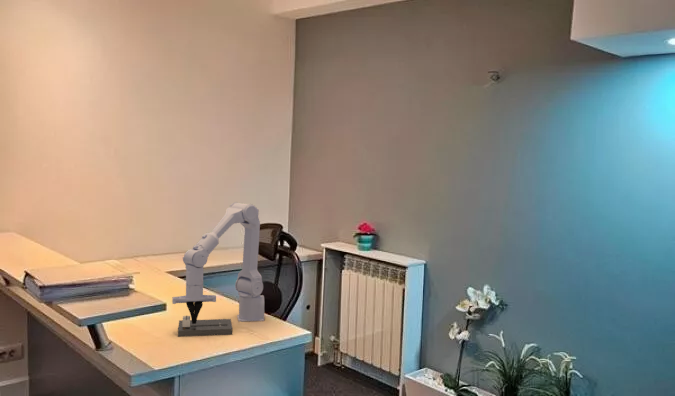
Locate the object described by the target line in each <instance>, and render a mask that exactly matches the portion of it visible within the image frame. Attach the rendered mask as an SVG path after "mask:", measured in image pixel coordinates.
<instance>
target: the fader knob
mask: <svg viewBox="0 0 675 396" xmlns="http://www.w3.org/2000/svg"><path fill="white" fill-rule="evenodd" d="M182 320H183V322H182V327H190V320H191V315H182Z"/></svg>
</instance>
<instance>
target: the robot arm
mask: <svg viewBox="0 0 675 396" xmlns="http://www.w3.org/2000/svg"><path fill="white" fill-rule="evenodd" d="M259 212H260V211H259V209H258V208H257V207H256V205H254V204H253V203H243V202H241V203H240V202H238V201H234V202H232V203H230V205H229V207H227V208H226V209H225V214H224V215H223V216H222V218H221V219H220V220H219V221H218V222H217V224H216V225H215V226H214V228H213V229H212V230H211V232H206V233H203V234H202V235H201V238H200V239H199V240H198V242H196V244H194V245H193V246H192V248H189V249H188V250H187V251H186V252H185V253H184V255H183V256H182V261H183V264H184V266H185V271H186V272H185V295H181V296H180V295H179V296H173V297H172V298H171V299H172V300H171V302H172V305H175V304H186V307H187V309H188V311H189V314H190V320H192V324H196V321H197V320H198V317H199V314H200V311H201V309H202V308H203V303H206V302H207V303H209V302H212V303H216V302H217V295H215V294H204V266H205V265H206V264H207V262H208V258H209V256H210V254H211V253H212V251H213V250H214V249H216V247H217V246H218V245H219V243H220V241H219V239H220V238H221V237H222V236H223V235H224V234H225V233H226V232H227V231H228V230H229V229H230V228H231V227H232V226H233V225H234V224H240V225H242V227H243V228H244V235H243V236H244V238H243V252H242V253H243V254H242V256H243V257H242V267H241V270H240V271H239V272H238V273H237V279H236V280H235V284H234V286H235V290H236V291H237V292H238V293H237V294H238V295H239V296H238V304H239V305H238V314H237V315H236V316H237V321H238V323H240V322H264V321H265V295H263V294H262V293H263V290H264V283H263V276H262V275H261V273H260V272H259V270H258V265H259V264H258V262H259V260H258V259H259V246H260V227H261V221H260V217H259V214H260V213H259ZM261 294H262V295H261Z"/></svg>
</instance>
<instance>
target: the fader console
mask: <svg viewBox="0 0 675 396" xmlns="http://www.w3.org/2000/svg"><path fill="white" fill-rule="evenodd" d="M182 322H183V319H181V320H180V319H179V320H178V326H177V327H178V328H177V329H178V330H177V337H178V338H180V337H204V336H207V337H209V336H228V335H229V336H230V335H231V336H233V325H232V319H231V318H223V319H222V318H217V319H197V321H196V324H192V319H190V327H182Z"/></svg>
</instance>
